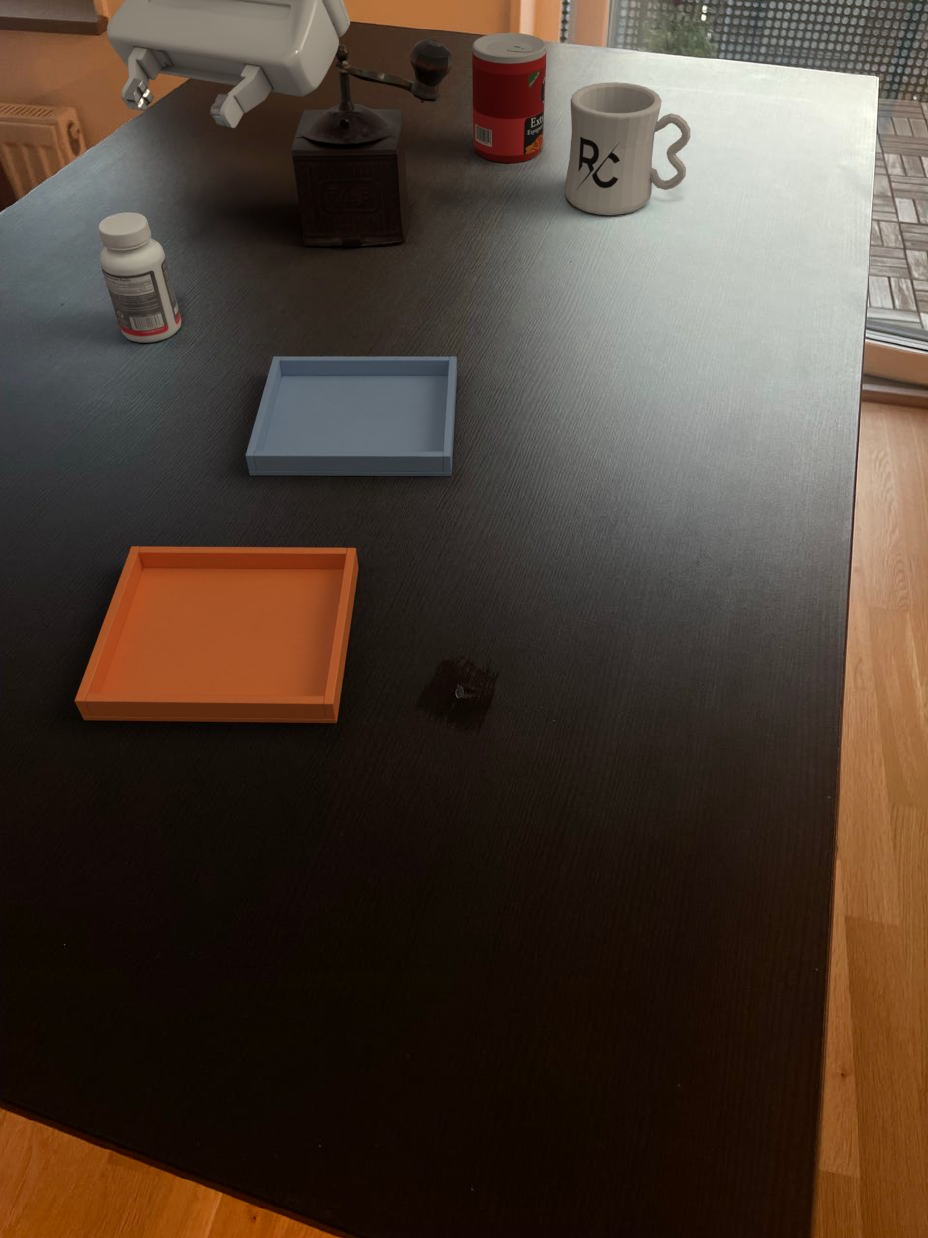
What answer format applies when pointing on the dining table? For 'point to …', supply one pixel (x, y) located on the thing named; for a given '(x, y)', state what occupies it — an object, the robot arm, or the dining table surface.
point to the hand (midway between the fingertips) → (175, 112)
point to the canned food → (508, 96)
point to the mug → (618, 148)
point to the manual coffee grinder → (360, 157)
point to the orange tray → (224, 636)
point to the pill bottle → (138, 279)
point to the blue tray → (355, 417)
